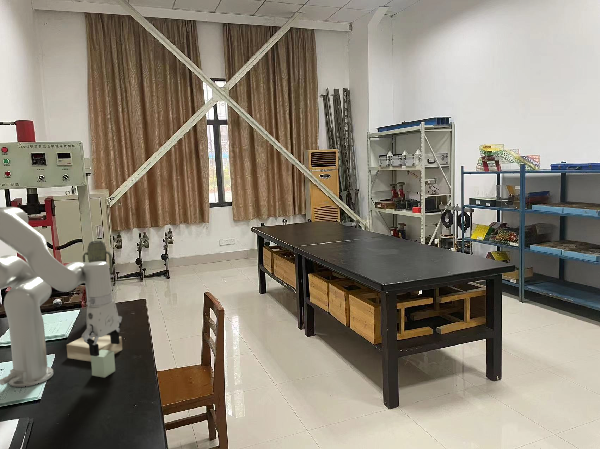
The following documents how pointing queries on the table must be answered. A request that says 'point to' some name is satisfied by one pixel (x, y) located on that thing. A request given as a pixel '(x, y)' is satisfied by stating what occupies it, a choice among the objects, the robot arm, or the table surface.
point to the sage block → (103, 363)
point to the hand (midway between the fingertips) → (105, 349)
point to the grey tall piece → (98, 253)
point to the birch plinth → (81, 348)
